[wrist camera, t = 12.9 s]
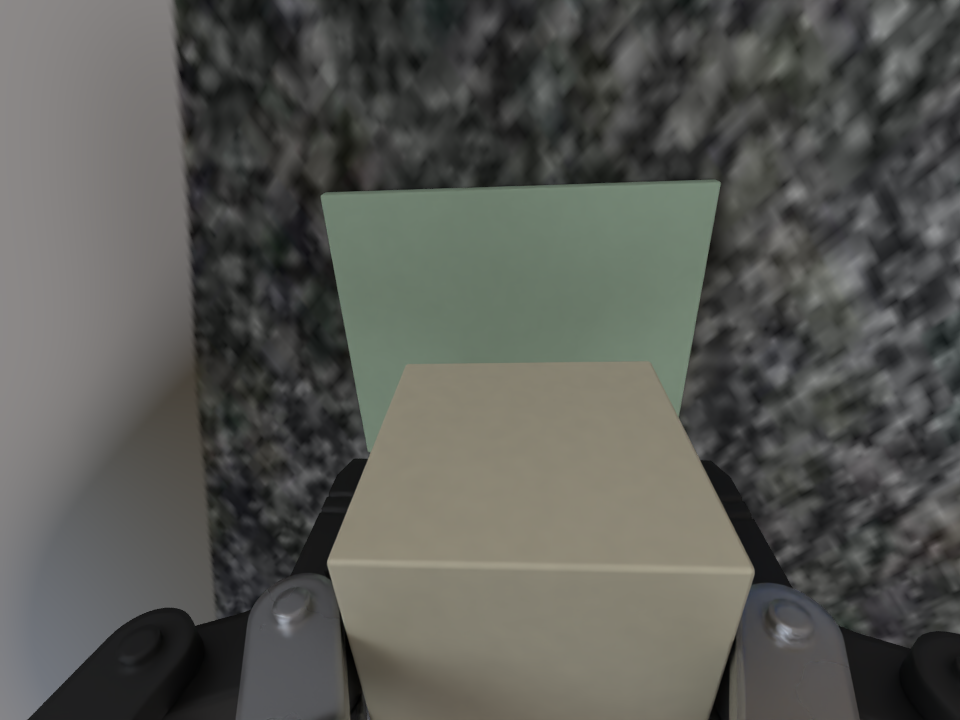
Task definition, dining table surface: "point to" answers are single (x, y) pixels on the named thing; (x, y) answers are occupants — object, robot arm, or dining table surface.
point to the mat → (518, 278)
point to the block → (537, 550)
